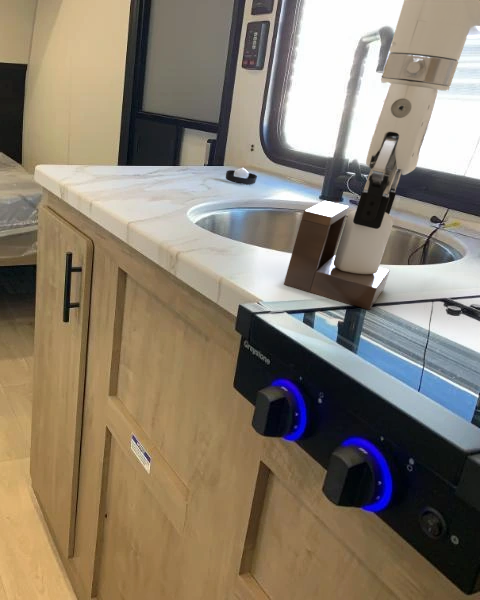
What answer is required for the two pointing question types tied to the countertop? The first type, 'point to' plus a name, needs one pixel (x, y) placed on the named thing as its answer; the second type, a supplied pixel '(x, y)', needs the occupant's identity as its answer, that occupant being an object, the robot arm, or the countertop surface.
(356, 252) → the eye dropper bottle
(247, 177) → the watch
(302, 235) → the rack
